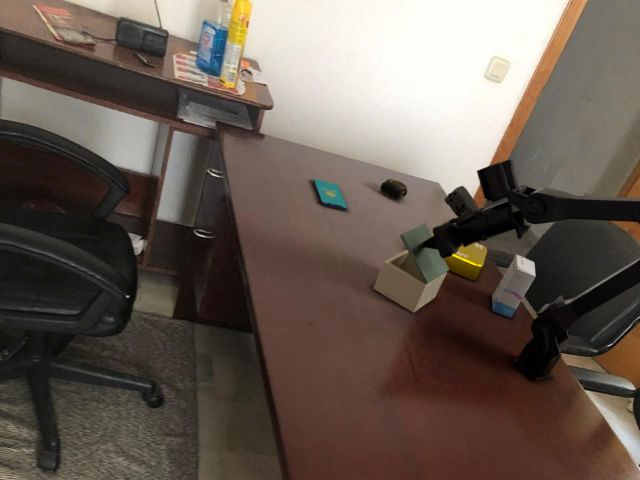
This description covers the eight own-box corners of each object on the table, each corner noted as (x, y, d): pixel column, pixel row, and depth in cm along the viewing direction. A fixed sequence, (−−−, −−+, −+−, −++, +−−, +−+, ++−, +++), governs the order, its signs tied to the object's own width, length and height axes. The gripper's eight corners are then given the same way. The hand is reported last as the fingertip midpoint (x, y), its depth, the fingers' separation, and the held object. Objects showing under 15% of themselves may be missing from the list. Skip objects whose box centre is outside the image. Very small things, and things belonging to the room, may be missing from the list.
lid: (399, 235, 136) (402, 233, 135) (422, 224, 144) (425, 223, 144) (425, 284, 137) (428, 283, 137) (446, 271, 146) (449, 269, 145)
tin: (373, 288, 144) (384, 261, 140) (396, 275, 153) (407, 249, 149) (413, 312, 142) (425, 285, 137) (434, 298, 150) (447, 272, 146)
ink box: (511, 319, 154) (537, 275, 147) (491, 311, 154) (516, 267, 147) (510, 303, 161) (535, 260, 154) (491, 295, 161) (515, 252, 153)
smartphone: (338, 184, 182) (348, 207, 171) (337, 186, 183) (347, 210, 172) (313, 178, 180) (321, 202, 169) (312, 181, 180) (321, 205, 170)
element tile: (419, 258, 164) (427, 241, 161) (429, 238, 176) (436, 222, 173) (474, 282, 163) (483, 265, 160) (481, 261, 175) (489, 245, 172)
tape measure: (377, 192, 190) (382, 179, 188) (389, 189, 195) (393, 176, 193) (396, 203, 188) (401, 190, 186) (407, 199, 193) (412, 187, 190)
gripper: (496, 174, 135) (429, 200, 145) (462, 188, 121) (391, 215, 131) (510, 227, 138) (444, 249, 148) (480, 247, 124) (409, 269, 134)
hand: (423, 244), depth 140 cm, fingers closed
